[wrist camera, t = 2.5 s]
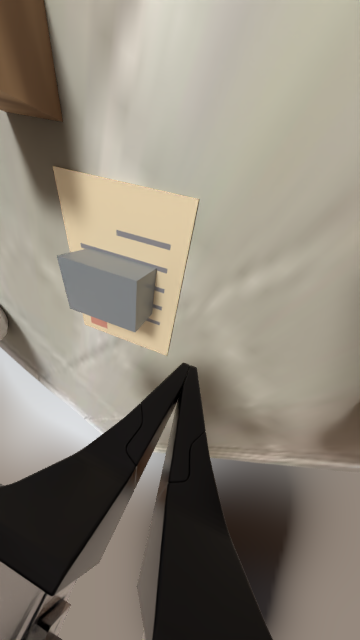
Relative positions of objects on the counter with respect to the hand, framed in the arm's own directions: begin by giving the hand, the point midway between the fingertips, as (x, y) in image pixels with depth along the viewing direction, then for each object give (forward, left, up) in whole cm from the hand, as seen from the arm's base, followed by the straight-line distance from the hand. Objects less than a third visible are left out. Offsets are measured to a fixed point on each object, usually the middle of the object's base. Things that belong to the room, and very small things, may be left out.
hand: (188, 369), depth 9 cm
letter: (+9, 0, -7) cm, 12 cm away
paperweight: (+9, 0, -7) cm, 12 cm away
